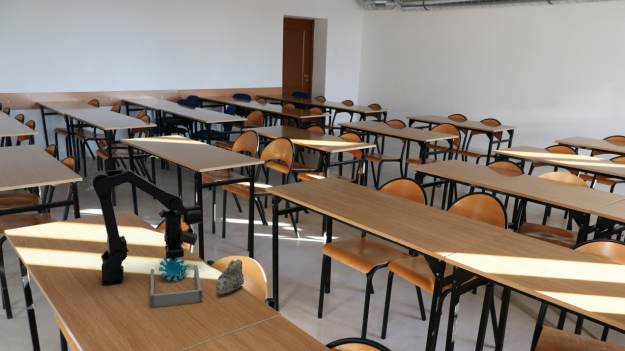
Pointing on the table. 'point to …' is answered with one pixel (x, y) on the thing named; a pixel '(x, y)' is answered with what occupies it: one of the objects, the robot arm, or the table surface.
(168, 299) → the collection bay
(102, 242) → the table surface
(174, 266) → the gear
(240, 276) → the mineral rock
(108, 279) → the robot arm
